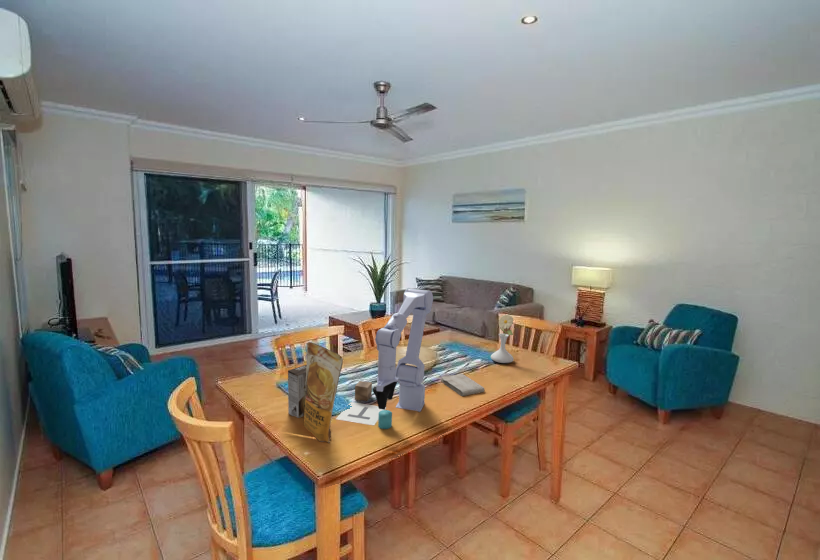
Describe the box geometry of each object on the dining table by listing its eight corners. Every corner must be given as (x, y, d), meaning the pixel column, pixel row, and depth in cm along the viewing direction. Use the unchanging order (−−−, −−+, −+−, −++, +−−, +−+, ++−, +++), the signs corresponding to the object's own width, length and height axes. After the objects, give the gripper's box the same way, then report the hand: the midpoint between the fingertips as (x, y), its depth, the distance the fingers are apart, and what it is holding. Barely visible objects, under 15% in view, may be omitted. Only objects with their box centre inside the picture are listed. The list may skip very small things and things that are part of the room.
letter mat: (386, 408, 151) (386, 407, 151) (374, 426, 137) (374, 425, 137) (350, 403, 154) (351, 401, 154) (335, 420, 140) (335, 419, 140)
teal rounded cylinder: (393, 425, 139) (393, 411, 138) (389, 431, 135) (389, 417, 134) (380, 423, 140) (381, 409, 139) (376, 429, 136) (376, 415, 135)
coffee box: (308, 405, 151) (308, 363, 149) (319, 410, 147) (320, 367, 145) (287, 413, 144) (287, 369, 142) (298, 419, 140) (298, 374, 138)
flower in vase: (486, 358, 211) (489, 310, 207) (505, 356, 214) (509, 310, 211) (499, 367, 199) (502, 316, 195) (519, 365, 202) (523, 316, 198)
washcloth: (460, 377, 185) (461, 371, 184) (486, 393, 169) (486, 386, 168) (438, 381, 179) (438, 375, 178) (462, 398, 163) (462, 390, 163)
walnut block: (371, 397, 160) (371, 382, 159) (367, 402, 155) (367, 387, 154) (359, 395, 161) (359, 380, 160) (354, 400, 156) (355, 385, 155)
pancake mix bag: (315, 416, 142) (315, 339, 138) (343, 440, 128) (345, 354, 124) (296, 422, 138) (296, 342, 134) (324, 447, 124) (325, 358, 120)
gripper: (392, 373, 126) (390, 415, 128) (404, 358, 140) (402, 396, 142) (370, 370, 128) (369, 411, 130) (384, 356, 142) (383, 393, 144)
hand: (385, 403), depth 136 cm, fingers open, 7 cm apart
